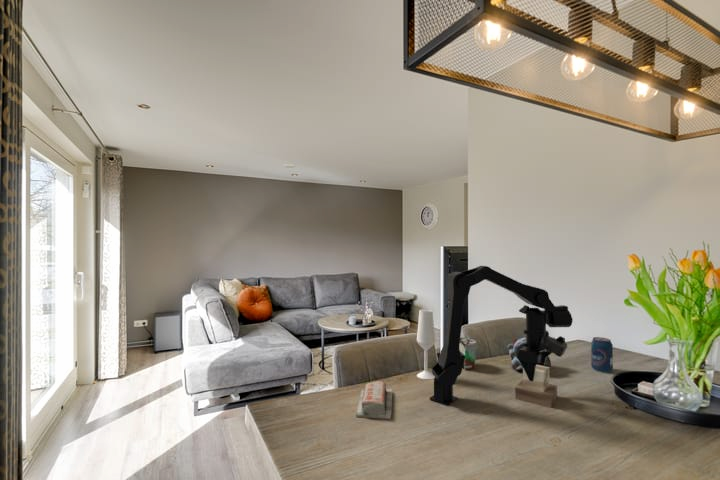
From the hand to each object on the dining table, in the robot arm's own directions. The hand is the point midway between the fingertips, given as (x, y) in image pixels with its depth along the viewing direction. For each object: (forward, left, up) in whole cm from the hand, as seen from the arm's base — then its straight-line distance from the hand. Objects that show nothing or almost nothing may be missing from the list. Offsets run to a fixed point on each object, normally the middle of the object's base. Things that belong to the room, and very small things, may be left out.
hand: (536, 376), depth 115 cm
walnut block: (0, 0, -7) cm, 7 cm away
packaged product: (-38, +35, -7) cm, 52 cm away
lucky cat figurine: (+27, +11, -7) cm, 29 cm away
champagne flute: (-7, +36, -7) cm, 37 cm away
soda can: (+44, -11, -7) cm, 46 cm away
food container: (+14, +29, -7) cm, 33 cm away
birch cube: (0, 0, -3) cm, 3 cm away
